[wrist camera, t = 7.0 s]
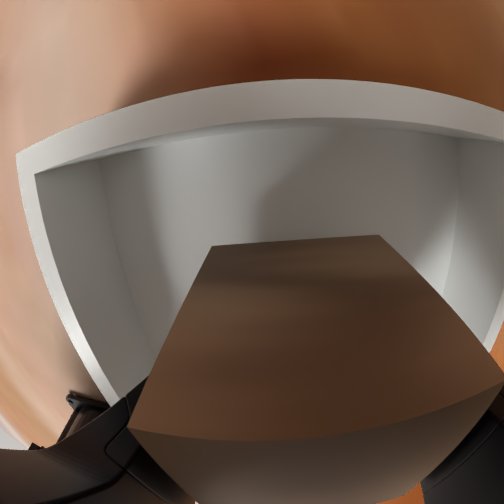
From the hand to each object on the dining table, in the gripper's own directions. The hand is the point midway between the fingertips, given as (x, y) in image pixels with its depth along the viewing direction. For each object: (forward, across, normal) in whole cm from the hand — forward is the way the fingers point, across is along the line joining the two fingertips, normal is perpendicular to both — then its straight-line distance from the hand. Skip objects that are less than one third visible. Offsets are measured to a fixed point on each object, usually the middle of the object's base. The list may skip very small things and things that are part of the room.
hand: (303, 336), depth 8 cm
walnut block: (+1, 0, 0) cm, 1 cm away
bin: (+4, 0, 0) cm, 4 cm away
